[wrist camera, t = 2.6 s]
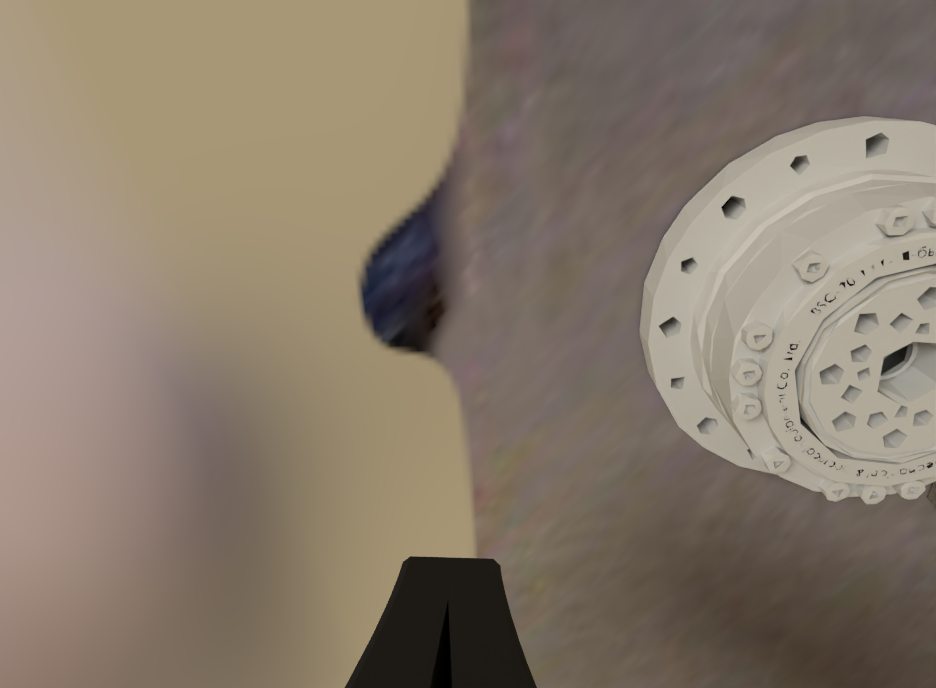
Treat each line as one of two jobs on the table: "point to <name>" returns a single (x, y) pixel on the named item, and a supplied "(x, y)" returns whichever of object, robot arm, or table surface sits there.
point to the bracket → (932, 493)
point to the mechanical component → (807, 309)
